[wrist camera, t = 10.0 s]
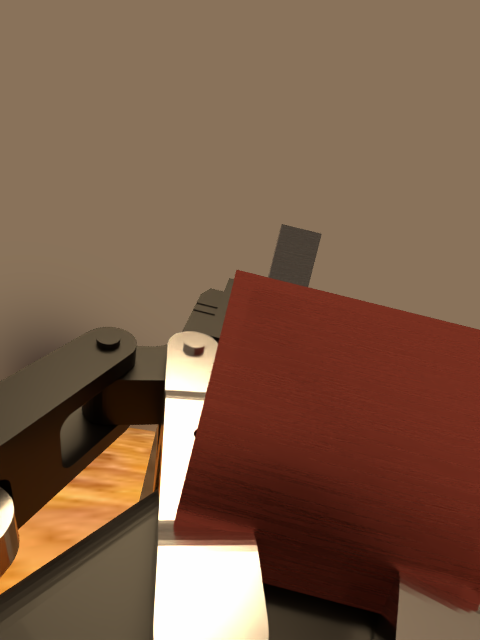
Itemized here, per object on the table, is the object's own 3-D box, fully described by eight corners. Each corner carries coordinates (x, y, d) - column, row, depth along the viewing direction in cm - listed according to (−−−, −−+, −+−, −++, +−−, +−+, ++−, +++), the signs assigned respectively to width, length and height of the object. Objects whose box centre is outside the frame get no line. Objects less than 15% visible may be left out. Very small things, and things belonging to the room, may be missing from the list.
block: (470, 637, 5) (659, -45, 5) (165, 557, 5) (332, -119, 5) (279, 350, 41) (300, 267, 41) (241, 340, 41) (261, 257, 41)
